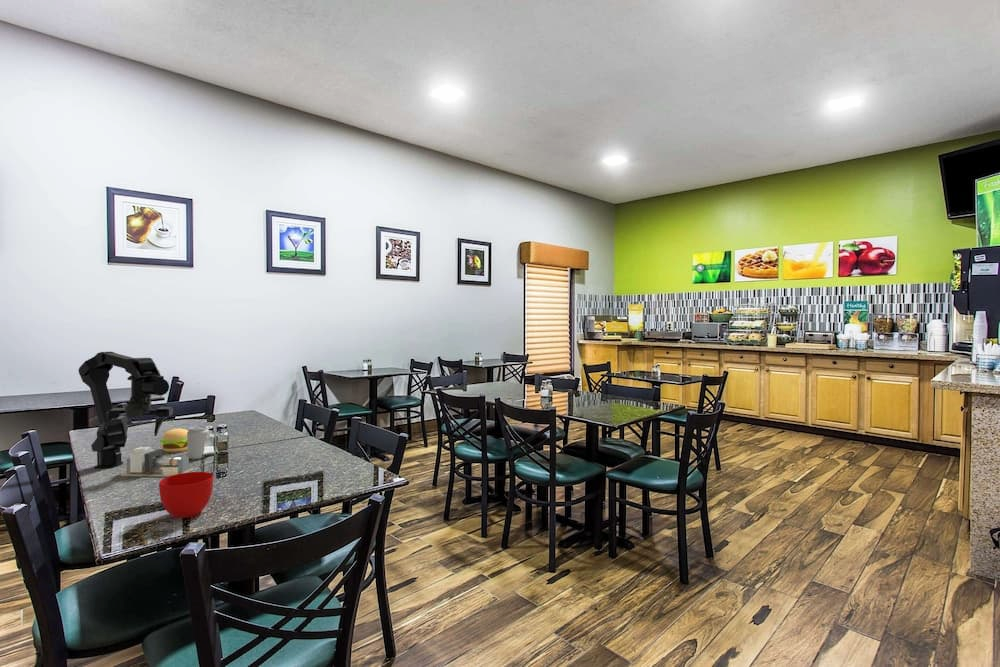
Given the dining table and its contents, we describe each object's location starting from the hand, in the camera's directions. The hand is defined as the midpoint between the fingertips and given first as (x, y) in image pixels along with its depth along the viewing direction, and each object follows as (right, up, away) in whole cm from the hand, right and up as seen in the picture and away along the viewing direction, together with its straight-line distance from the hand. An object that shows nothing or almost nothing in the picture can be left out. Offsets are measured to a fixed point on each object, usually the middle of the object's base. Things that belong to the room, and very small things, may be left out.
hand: (140, 436), depth 182 cm
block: (+6, -11, -2) cm, 13 cm away
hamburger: (-6, -12, +30) cm, 33 cm away
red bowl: (+41, -14, -38) cm, 58 cm away
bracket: (+2, -11, -2) cm, 12 cm away
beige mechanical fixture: (+8, -12, -2) cm, 15 cm away
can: (+10, -12, +18) cm, 24 cm away
